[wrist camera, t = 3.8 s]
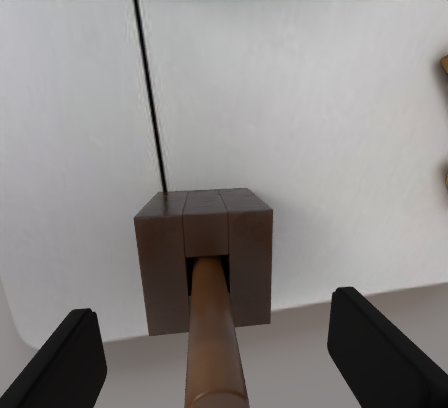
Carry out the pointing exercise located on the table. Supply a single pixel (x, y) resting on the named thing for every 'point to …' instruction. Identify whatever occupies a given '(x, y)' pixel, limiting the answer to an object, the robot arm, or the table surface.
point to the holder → (204, 254)
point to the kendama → (447, 64)
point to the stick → (212, 342)
